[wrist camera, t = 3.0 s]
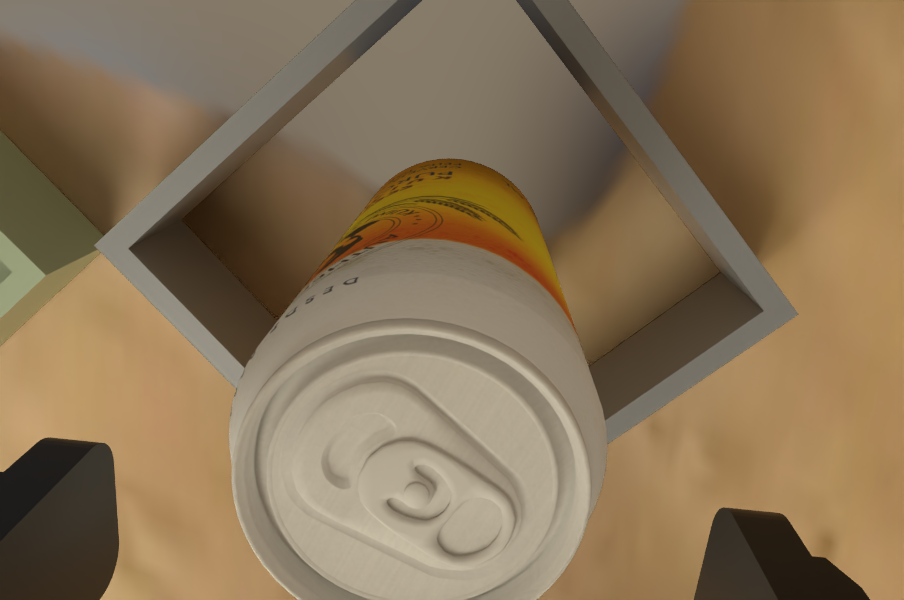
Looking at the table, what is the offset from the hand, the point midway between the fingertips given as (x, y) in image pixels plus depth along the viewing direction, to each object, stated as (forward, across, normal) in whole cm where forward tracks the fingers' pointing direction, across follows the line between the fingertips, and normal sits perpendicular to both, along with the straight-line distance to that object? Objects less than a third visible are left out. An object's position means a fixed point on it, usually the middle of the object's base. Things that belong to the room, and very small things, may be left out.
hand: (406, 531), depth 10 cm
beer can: (+16, 0, 0) cm, 16 cm away
